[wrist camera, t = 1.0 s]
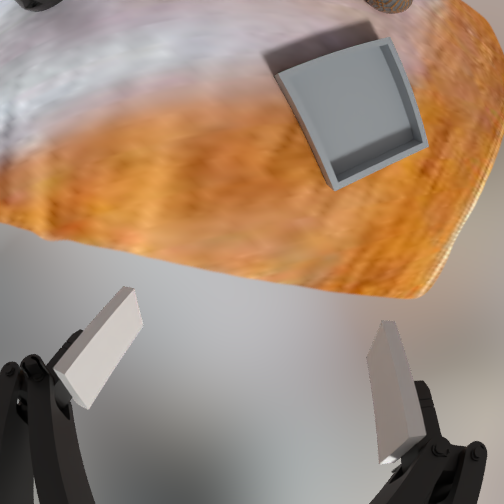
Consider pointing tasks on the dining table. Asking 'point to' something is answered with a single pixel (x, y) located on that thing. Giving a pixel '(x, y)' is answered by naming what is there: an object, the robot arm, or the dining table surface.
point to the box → (355, 110)
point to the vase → (390, 5)
